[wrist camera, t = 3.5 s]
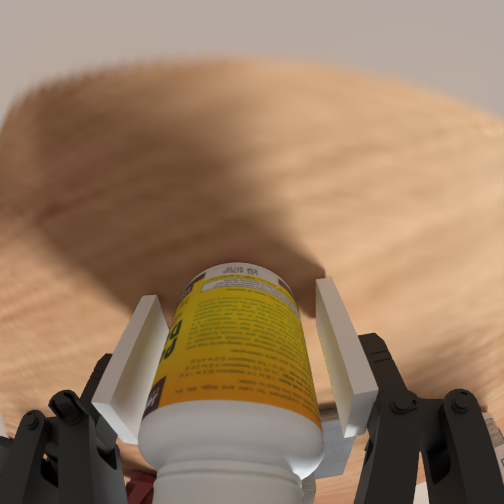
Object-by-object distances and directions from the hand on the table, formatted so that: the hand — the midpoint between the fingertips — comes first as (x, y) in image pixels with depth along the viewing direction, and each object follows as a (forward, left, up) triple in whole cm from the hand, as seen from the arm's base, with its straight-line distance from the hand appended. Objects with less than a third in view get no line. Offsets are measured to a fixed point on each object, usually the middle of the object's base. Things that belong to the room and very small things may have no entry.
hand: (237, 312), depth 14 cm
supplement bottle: (0, 0, -1) cm, 1 cm away
